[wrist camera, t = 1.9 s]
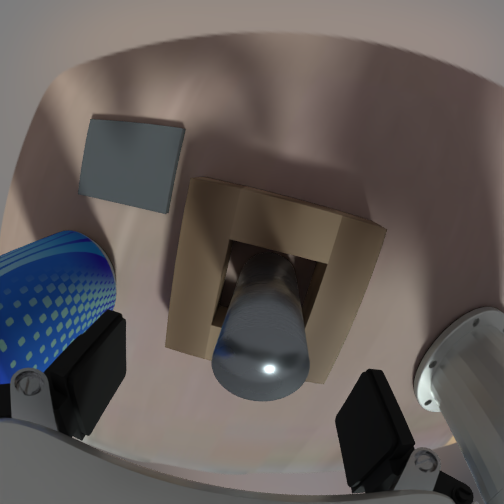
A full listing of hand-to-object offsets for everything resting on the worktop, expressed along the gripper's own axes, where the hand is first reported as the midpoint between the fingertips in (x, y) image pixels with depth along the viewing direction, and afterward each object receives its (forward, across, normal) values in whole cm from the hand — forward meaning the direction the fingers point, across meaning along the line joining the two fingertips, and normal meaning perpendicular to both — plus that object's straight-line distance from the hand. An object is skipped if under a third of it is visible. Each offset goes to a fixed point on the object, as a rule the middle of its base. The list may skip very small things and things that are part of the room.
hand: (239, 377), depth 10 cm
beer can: (+12, +14, +4) cm, 19 cm away
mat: (+11, +11, -6) cm, 17 cm away
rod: (+11, -1, 0) cm, 11 cm away
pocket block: (+11, -1, 0) cm, 11 cm away
